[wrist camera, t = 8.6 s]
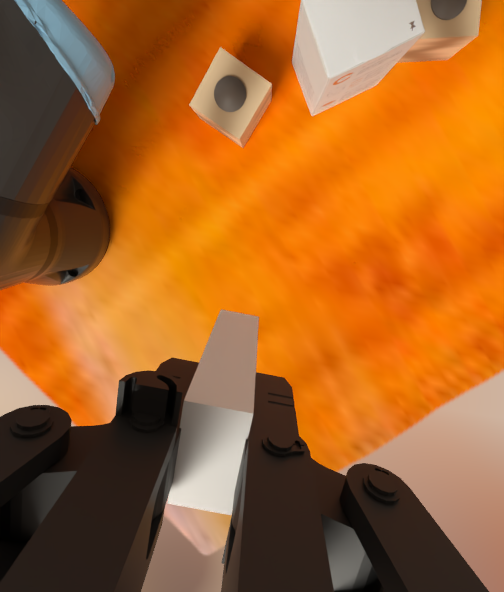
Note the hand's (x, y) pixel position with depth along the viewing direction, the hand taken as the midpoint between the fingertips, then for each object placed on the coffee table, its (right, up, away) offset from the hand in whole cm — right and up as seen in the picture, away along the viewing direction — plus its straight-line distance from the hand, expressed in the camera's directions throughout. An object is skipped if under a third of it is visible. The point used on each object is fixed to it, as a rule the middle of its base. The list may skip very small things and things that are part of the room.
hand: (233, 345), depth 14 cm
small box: (+10, +27, +26) cm, 39 cm away
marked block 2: (+19, +31, +25) cm, 44 cm away
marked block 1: (-1, +23, +27) cm, 36 cm away
